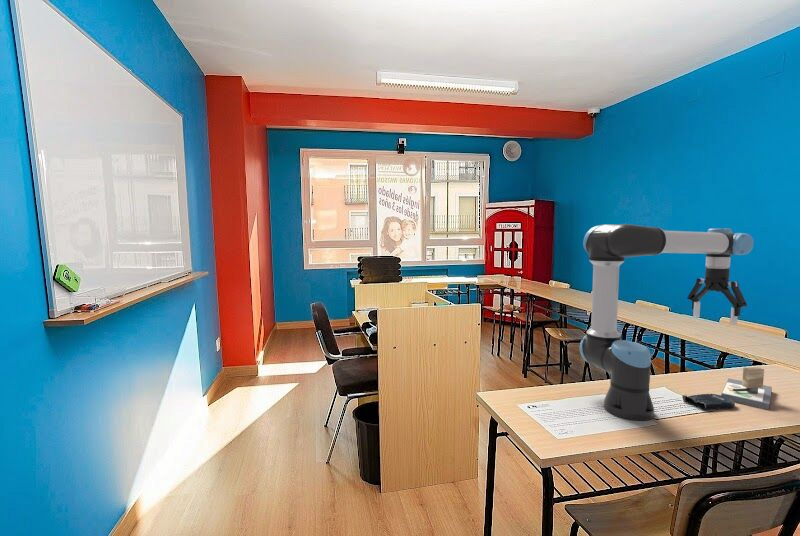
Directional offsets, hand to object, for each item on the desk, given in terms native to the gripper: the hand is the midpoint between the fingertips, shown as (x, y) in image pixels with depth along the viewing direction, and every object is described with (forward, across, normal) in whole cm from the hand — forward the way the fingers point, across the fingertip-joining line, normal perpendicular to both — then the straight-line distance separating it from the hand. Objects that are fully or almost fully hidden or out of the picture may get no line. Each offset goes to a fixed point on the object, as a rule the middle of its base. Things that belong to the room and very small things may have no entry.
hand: (714, 320), depth 156 cm
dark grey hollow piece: (+27, -12, +18) cm, 35 cm away
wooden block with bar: (+24, -13, 0) cm, 27 cm away
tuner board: (+27, -11, -3) cm, 29 cm away
